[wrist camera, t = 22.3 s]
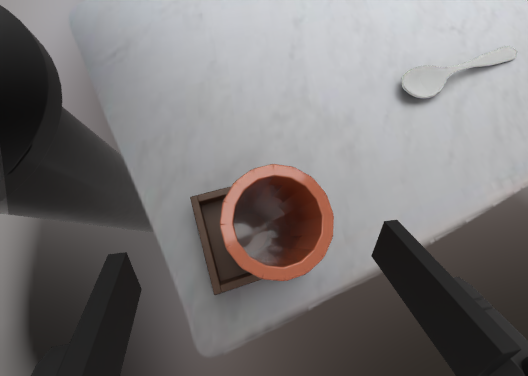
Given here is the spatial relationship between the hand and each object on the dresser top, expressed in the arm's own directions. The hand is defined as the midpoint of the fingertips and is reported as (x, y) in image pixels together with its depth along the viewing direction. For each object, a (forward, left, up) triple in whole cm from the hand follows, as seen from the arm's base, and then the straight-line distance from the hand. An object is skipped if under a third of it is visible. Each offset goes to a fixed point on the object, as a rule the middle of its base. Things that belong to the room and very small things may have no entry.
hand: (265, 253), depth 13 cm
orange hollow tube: (0, +1, -10) cm, 10 cm away
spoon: (+32, +13, -11) cm, 36 cm away
